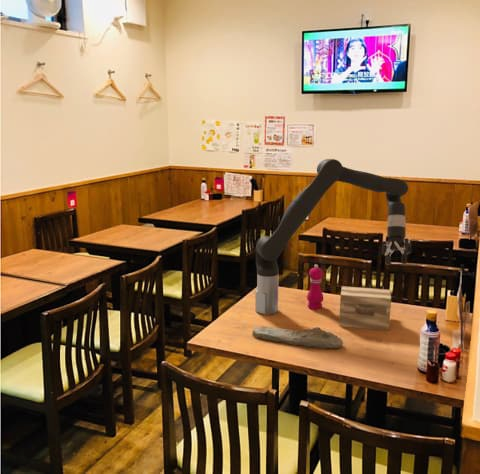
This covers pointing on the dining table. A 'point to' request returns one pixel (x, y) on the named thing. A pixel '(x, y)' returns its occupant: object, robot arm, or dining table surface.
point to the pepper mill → (315, 289)
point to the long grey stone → (299, 337)
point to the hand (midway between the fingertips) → (396, 264)
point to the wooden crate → (365, 308)
